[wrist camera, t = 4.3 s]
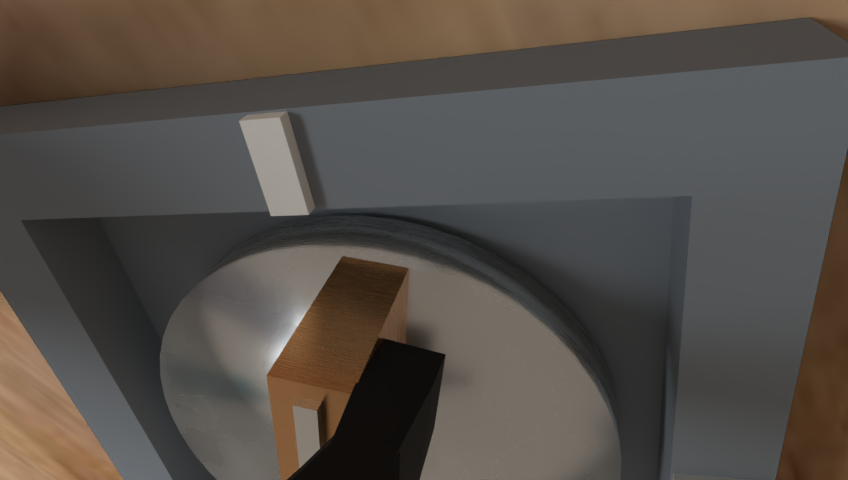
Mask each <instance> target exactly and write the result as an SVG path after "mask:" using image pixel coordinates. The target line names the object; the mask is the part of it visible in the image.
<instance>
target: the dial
mask: <svg viewBox="0 0 848 480" xmlns="http://www.w3.org/2000/svg"><path fill="white" fill-rule="evenodd" d="M384 338H385V339H388V340H392V341H396V342H400V343H404V344H408V345H412V346H416V347H419V348H423V349H427V350H431V351H435V352H439V353H443V354H446V356H445V362H444V369H443V375H442V381H441V388H440V394H439V401H438V407H437V413H436V420H435V426H434V431H433V434H432V438H431V441H430V445H429V449H428V452H427V456H426V459H425V463H424V466H423V470H422V473H421V477H420V480H620V478H621V446H620V429H619V412H618V406H617V399H616V393H615V388H614V385H613V382H612V379H611V376H610V373H609V371H608V368H607V365H606V363H605V361H604V359H603V358H602V356H601V354H600V352H599V350H598V348H597V346H596V345H595V343H594V341H593V340H592V338H591V337H590V336H589V334H588V333H587V332H586V330H585V329H584V328H583V326H582V325H581V324H580V322H579V321H578V320H577V318H576V317H575V316H574V315H573V314H572V313H571V312H570V311H569V310H568V309H567V308H566V307H565V306H564V305H563V304H562V303H561V302H560V301H559V300H558V299H557V298H556V297H555V296H554V295H553V294H552V293H551V292H550V291H549V290H547V289H546V288H545V287H544V286H542V285H541V284H540V283H539V282H537V281H536V280H535V279H533V278H532V277H531V276H530V275H528V274H527V273H526V272H524V271H523V270H521V269H519V268H518V267H516V266H514V265H513V264H511V263H510V262H508V261H506V260H505V259H503V258H502V257H500V256H498V255H497V254H495V253H493V252H491V251H488V250H486V249H484V248H482V247H480V246H478V245H476V244H474V243H472V242H469V241H467V240H465V239H463V238H460V237H457V236H454V235H451V234H449V233H446V232H443V231H440V230H437V229H434V228H431V227H428V226H423V225H419V224H415V223H410V222H406V221H401V220H397V219H390V218H381V217H372V216H363V215H334V216H321V217H314V218H307V219H300V220H296V221H292V222H289V223H285V224H282V225H278V226H275V227H271V228H269V229H267V230H265V231H263V232H260V233H258V234H256V235H254V236H252V237H250V238H248V239H246V240H245V241H243V242H242V243H240V244H239V245H237V246H236V247H235V248H233V249H232V250H230V251H229V252H228V253H227V254H226V255H225V256H224V257H223V258H222V259H221V260H220V261H219V262H218V263H217V264H216V265H215V266H214V267H213V268H212V269H211V270H210V271H209V272H208V273H207V274H206V275H205V276H204V277H203V278H202V279H201V281H200V282H199V283H198V284H197V285H196V286H195V287H194V288H193V289H192V290H191V291H190V292H189V293H188V294H187V295H186V296H185V297H184V299H183V300H182V301H181V302H180V304H179V305H178V307H177V308H176V310H175V311H174V313H173V314H172V316H171V318H170V320H169V322H168V325H167V327H166V330H165V333H164V335H163V339H162V345H161V352H160V377H161V382H162V387H163V392H164V397H165V399H166V402H167V405H168V408H169V411H170V413H171V416H172V418H173V420H174V422H175V424H176V426H177V428H178V430H179V432H180V433H181V435H182V437H183V438H184V440H185V441H186V443H187V444H188V446H189V447H190V449H191V450H192V452H193V453H194V454H195V456H196V457H197V458H198V459H199V461H200V462H201V463H202V464H203V465H204V467H205V468H206V469H207V470H208V471H209V472H210V473H211V474H212V475H213V476H214V477H215V478H216V480H287V479H288V478H289V477H290V476H291V475H292V474H294V473H295V472H296V471H297V470H298V469H299V468H300V467H301V466H302V465H303V464H305V463H306V462H307V461H308V460H309V459H310V458H311V457H312V456H313V455H314V454H315V453H316V452H317V451H318V450H319V449H320V448H321V447H322V446H323V445H324V444H325V443H326V442H327V441H328V440H329V439H330V438H332V437H333V436H334V434H335V431H336V429H337V426H338V424H339V422H340V419H341V417H342V414H343V412H344V409H345V407H346V405H347V402H348V400H349V397H350V395H351V393H352V390H353V388H354V386H355V383H358V381H359V379H360V378H361V376H362V374H363V372H364V370H365V368H366V367H367V365H368V363H369V362H370V360H371V358H372V356H373V355H374V353H375V351H376V350H377V348H378V347H379V345H380V344H381V342H382V341H383V339H384Z"/></svg>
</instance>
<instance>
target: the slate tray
mask: <svg viewBox="0 0 848 480" xmlns="http://www.w3.org/2000/svg"><path fill="white" fill-rule="evenodd" d="M847 149H848V42H847V41H846V40H844V39H842V38H841V37H839V36H838V35H836V34H835V33H833V32H832V31H830V30H829V29H827V28H826V27H824V26H823V25H821V24H820V23H818V22H816V21H815V20H813V19H812V18H801V19H792V20H783V21H774V22H765V23H756V24H747V25H737V26H728V27H719V28H710V29H701V30H692V31H683V32H674V33H665V34H656V35H646V36H637V37H628V38H619V39H610V40H601V41H592V42H583V43H574V44H565V45H555V46H546V47H537V48H528V49H519V50H510V51H501V52H492V53H483V54H473V55H464V56H455V57H446V58H437V59H428V60H419V61H410V62H401V63H392V64H382V65H373V66H364V67H355V68H346V69H337V70H328V71H319V72H310V73H301V74H291V75H282V76H273V77H264V78H255V79H246V80H237V81H228V82H219V83H210V84H200V85H191V86H182V87H173V88H164V89H155V90H146V91H137V92H128V93H119V94H109V95H100V96H91V97H82V98H73V99H64V100H55V101H46V102H37V103H28V104H18V105H9V106H0V291H1V292H2V294H3V295H4V297H5V298H6V300H7V301H8V303H9V304H10V306H11V307H12V309H13V311H14V312H15V314H16V315H17V317H18V318H19V320H20V321H21V323H22V324H23V326H24V327H25V329H26V331H27V332H28V334H29V335H30V337H31V338H32V340H33V341H34V343H35V344H36V346H37V347H38V349H39V350H40V352H41V354H42V355H43V357H44V358H45V360H46V361H47V363H48V364H49V366H50V367H51V369H52V370H53V372H54V373H55V375H56V377H57V378H58V380H59V381H60V383H61V384H62V386H63V387H64V389H65V390H66V392H67V393H68V395H69V396H70V398H71V400H72V401H73V403H74V404H75V406H76V407H77V409H78V410H79V412H80V413H81V415H82V416H83V418H84V419H85V421H86V423H87V424H88V426H89V427H90V429H91V430H92V432H93V433H94V435H95V436H96V438H97V439H98V441H99V442H100V444H101V446H102V447H103V449H104V450H105V452H106V453H107V455H108V456H109V458H110V459H111V461H112V462H113V464H114V465H115V467H116V469H117V470H118V472H119V473H120V475H121V476H122V478H123V479H124V480H216V478H215V477H214V476H213V475H212V474H211V473H210V472H209V471H208V470H207V469H206V468H205V467H204V465H203V464H202V463H201V462H200V461H199V459H198V458H197V457H196V456H195V454H194V453H193V452H192V450H191V449H190V447H189V446H188V444H187V443H186V441H185V440H184V438H183V437H182V435H181V433H180V432H179V430H178V428H177V426H176V424H175V422H174V420H173V418H172V416H171V413H170V411H169V408H168V405H167V402H166V399H165V397H164V392H163V387H162V382H161V377H160V352H161V345H162V339H163V335H164V333H165V330H166V327H167V325H168V322H169V320H170V318H171V316H172V314H173V313H174V311H175V310H176V308H177V307H178V305H179V304H180V302H181V301H182V300H183V299H184V297H185V296H186V295H187V294H188V293H189V292H190V291H191V290H192V289H193V288H194V287H195V286H196V285H197V284H198V283H199V282H200V281H201V279H202V278H203V277H204V276H205V275H206V274H207V273H208V272H209V271H210V270H211V269H212V268H213V267H214V266H215V265H216V264H217V263H218V262H219V261H220V260H221V259H222V258H223V257H224V256H225V255H226V254H227V253H228V252H229V251H230V250H232V249H233V248H235V247H236V246H237V245H239V244H240V243H242V242H243V241H245V240H246V239H248V238H250V237H252V236H254V235H256V234H258V233H260V232H263V231H265V230H267V229H269V228H271V227H275V226H278V225H282V224H285V223H289V222H292V221H296V220H300V219H307V218H314V217H321V216H334V215H363V216H372V217H381V218H390V219H397V220H401V221H406V222H410V223H415V224H419V225H423V226H428V227H431V228H434V229H437V230H440V231H443V232H446V233H449V234H451V235H454V236H457V237H460V238H463V239H465V240H467V241H469V242H472V243H474V244H476V245H478V246H480V247H482V248H484V249H486V250H488V251H491V252H493V253H495V254H497V255H498V256H500V257H502V258H503V259H505V260H506V261H508V262H510V263H511V264H513V265H514V266H516V267H518V268H519V269H521V270H523V271H524V272H526V273H527V274H528V275H530V276H531V277H532V278H533V279H535V280H536V281H537V282H539V283H540V284H541V285H542V286H544V287H545V288H546V289H547V290H549V291H550V292H551V293H552V294H553V295H554V296H555V297H556V298H557V299H558V300H559V301H560V302H561V303H562V304H563V305H564V306H565V307H566V308H567V309H568V310H569V311H570V312H571V313H572V314H573V315H574V316H575V317H576V318H577V320H578V321H579V322H580V324H581V325H582V326H583V328H584V329H585V330H586V332H587V333H588V334H589V336H590V337H591V338H592V340H593V341H594V343H595V345H596V346H597V348H598V350H599V352H600V354H601V356H602V358H603V359H604V361H605V363H606V365H607V368H608V371H609V373H610V376H611V379H612V382H613V385H614V388H615V393H616V399H617V406H618V412H619V429H620V446H621V478H620V480H775V479H776V474H777V470H778V465H779V460H780V456H781V451H782V447H783V442H784V438H785V433H786V428H787V424H788V419H789V415H790V410H791V406H792V401H793V396H794V392H795V387H796V383H797V378H798V374H799V369H800V364H801V360H802V355H803V351H804V346H805V342H806V337H807V332H808V328H809V323H810V319H811V314H812V309H813V305H814V300H815V296H816V291H817V287H818V282H819V277H820V273H821V268H822V264H823V259H824V255H825V250H826V245H827V241H828V236H829V232H830V227H831V223H832V218H833V213H834V209H835V204H836V200H837V195H838V191H839V186H840V181H841V177H842V172H843V168H844V163H845V158H846V154H847Z"/></svg>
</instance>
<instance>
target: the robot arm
mask: <svg viewBox="0 0 848 480" xmlns="http://www.w3.org/2000/svg"><path fill="white" fill-rule="evenodd" d="M445 356H446V354H443V353H439V352H435V351H431V350H427V349H423V348H419V347H416V346H412V345H408V344H404V343H400V342H396V341H392V340H388V339H385V338H384V339H383V341H382V342H381V344H380V345H379V347H378V348H377V350H376V351H375V353H374V355H373V356H372V358H371V360H370V362H369V363H368V365H367V367H366V368H365V370H364V372H363V374H362V376H361V378H360V379H359V381H358V383H355V386H354V388H353V390H352V393H351V395H350V397H349V400H348V402H347V405H346V407H345V409H344V412H343V414H342V417H341V419H340V422H339V424H338V426H337V429H336V431H335V434H334V436H333V437H332V438H330V439H329V440H328V441H327V442H326V443H325V444H324V445H323V446H322V447H321V448H320V449H319V450H318V451H317V452H316V453H315V454H314V455H313V456H312V457H311V458H310V459H309V460H308V461H307V462H306V463H305V464H303V465H302V466H301V467H300V468H299V469H298V470H297V471H296V472H295V473H294V474H292V475H291V476H290V477H289V478H288V479H287V480H420V477H421V473H422V470H423V466H424V463H425V459H426V456H427V452H428V449H429V445H430V441H431V438H432V434H433V431H434V426H435V420H436V413H437V407H438V401H439V394H440V388H441V381H442V375H443V369H444V362H445Z"/></svg>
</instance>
